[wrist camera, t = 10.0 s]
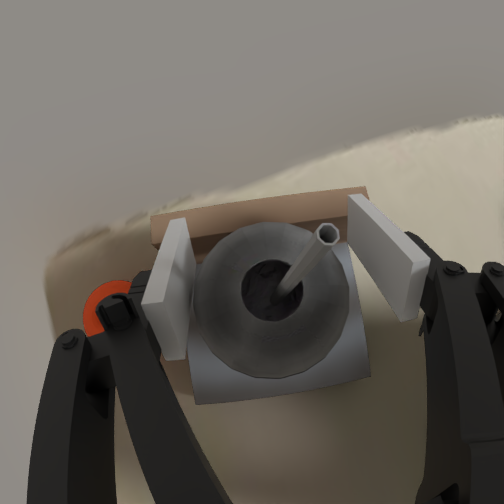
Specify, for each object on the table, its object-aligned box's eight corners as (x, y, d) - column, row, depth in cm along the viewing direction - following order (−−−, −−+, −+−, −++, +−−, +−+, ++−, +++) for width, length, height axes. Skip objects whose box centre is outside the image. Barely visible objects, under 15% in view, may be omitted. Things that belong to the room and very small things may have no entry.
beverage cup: (213, 292, 26) (75, 187, 7) (291, 257, 26) (337, 79, 7) (248, 372, 24) (181, 486, 5) (328, 335, 25) (485, 334, 5)
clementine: (161, 271, 30) (134, 252, 23) (189, 336, 28) (168, 336, 21) (96, 303, 29) (58, 293, 22) (120, 366, 27) (83, 372, 20)
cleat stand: (184, 253, 30) (150, 216, 20) (335, 231, 30) (365, 186, 21) (202, 398, 26) (173, 427, 17) (360, 372, 27) (405, 387, 17)
